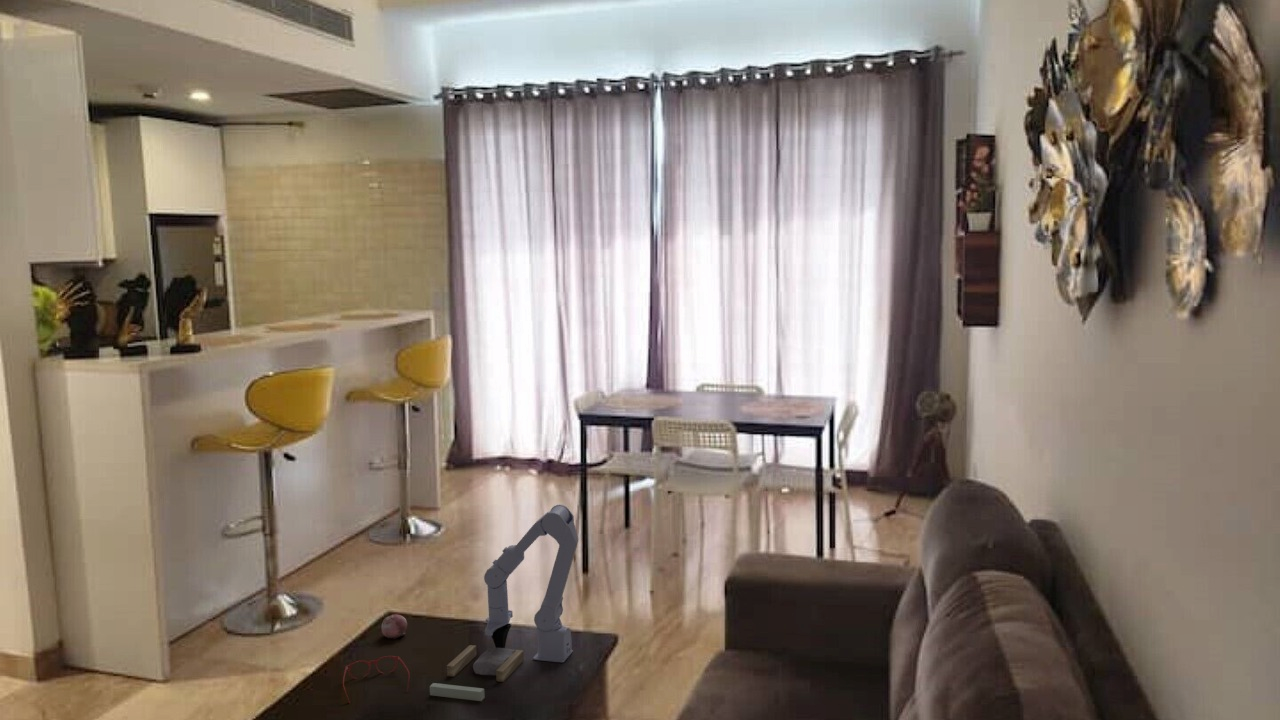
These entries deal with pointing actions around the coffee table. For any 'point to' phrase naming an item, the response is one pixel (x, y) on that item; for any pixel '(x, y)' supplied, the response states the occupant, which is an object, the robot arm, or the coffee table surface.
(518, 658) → the chute rail right
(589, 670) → the coffee table surface
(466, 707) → the coffee table surface
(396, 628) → the onion
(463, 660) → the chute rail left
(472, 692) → the end bar
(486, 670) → the stone block
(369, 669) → the red eyeglasses
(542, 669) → the coffee table surface
